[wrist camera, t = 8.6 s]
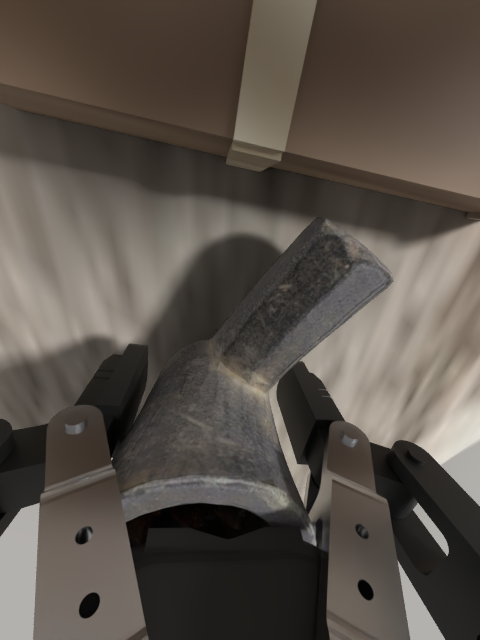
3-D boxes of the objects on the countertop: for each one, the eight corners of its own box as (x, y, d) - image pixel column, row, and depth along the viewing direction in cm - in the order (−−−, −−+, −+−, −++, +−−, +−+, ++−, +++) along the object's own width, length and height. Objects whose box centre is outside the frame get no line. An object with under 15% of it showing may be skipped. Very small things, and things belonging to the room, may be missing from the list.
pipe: (365, 273, 12) (609, 393, 5) (204, 441, 15) (198, 656, 8) (265, 178, 10) (423, 126, 2) (106, 399, 13) (-16, 637, 6)
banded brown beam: (-8, -68, 7) (-200, -300, 4) (548, 112, 11) (708, 72, 7) (18, 118, 9) (-97, 71, 6) (488, 222, 12) (593, 232, 9)
